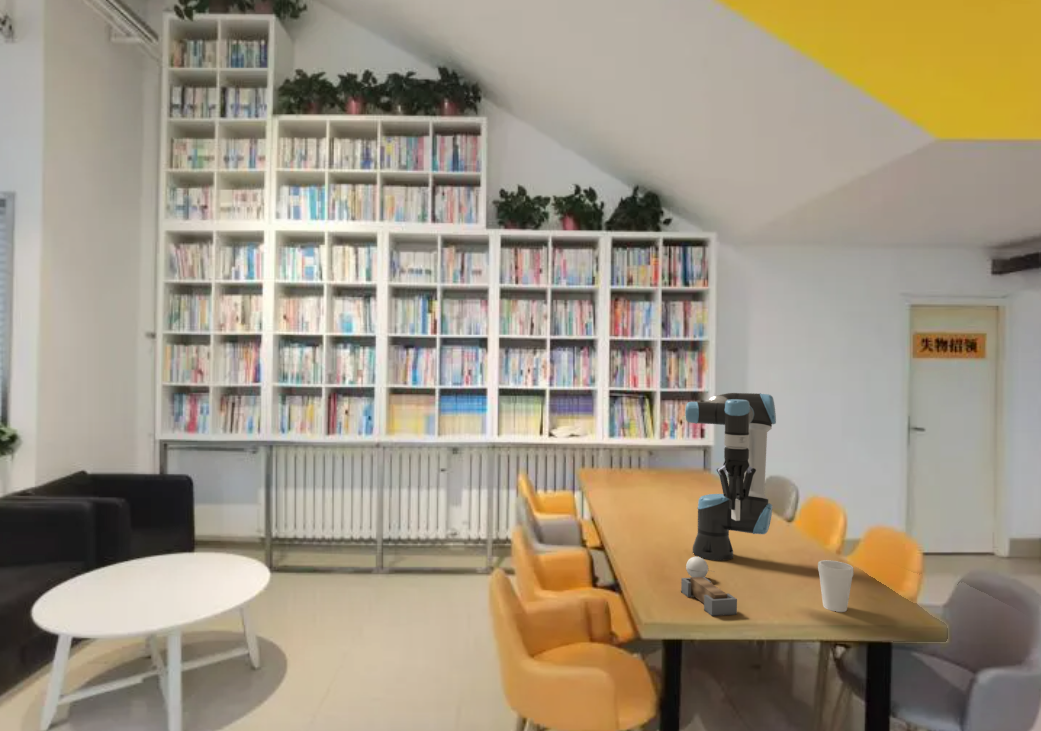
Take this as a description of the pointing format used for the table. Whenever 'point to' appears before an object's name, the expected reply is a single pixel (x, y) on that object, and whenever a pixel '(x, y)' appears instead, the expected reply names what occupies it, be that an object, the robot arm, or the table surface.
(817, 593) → the table surface
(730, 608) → the cap
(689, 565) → the ball
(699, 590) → the slat
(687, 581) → the cap
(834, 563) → the foam cup
